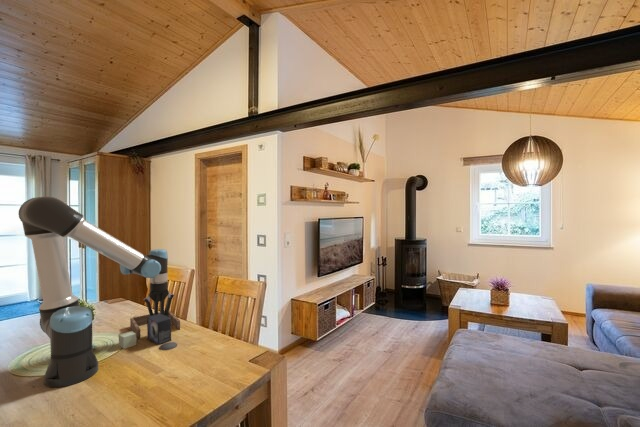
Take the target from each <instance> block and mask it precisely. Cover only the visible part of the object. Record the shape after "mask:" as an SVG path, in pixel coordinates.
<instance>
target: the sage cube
mask: <svg viewBox="0 0 640 427" xmlns="http://www.w3.org/2000/svg"><path fill="white" fill-rule="evenodd" d="M136 345H137V338H136V333H134V332H133V331H132V330H130V331H127V332H123V333H120V334H118V347H120V346H121V347H120V348H122V349H128V348H130V347H134V346H136Z"/></svg>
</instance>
